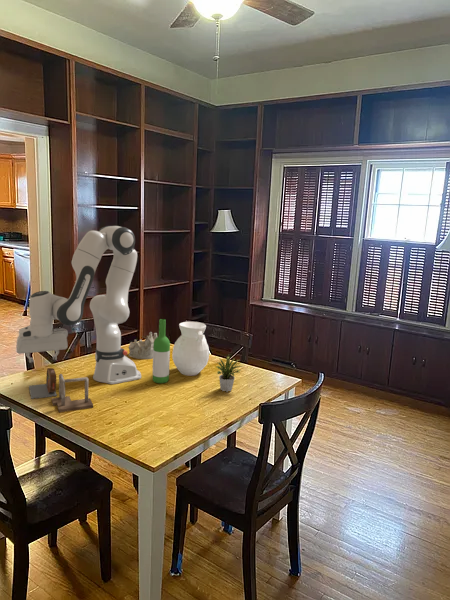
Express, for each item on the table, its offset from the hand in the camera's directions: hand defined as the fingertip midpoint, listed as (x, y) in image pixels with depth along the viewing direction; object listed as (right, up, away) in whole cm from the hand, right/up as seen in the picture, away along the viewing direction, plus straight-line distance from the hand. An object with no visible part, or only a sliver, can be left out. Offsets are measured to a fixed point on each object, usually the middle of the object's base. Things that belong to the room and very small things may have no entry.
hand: (43, 360), depth 192 cm
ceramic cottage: (+33, -5, +60) cm, 69 cm away
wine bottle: (+47, -13, +22) cm, 54 cm away
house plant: (+78, -16, +15) cm, 81 cm away
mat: (-1, -13, +2) cm, 14 cm away
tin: (+2, -13, +4) cm, 14 cm away
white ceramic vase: (+60, -11, +36) cm, 71 cm away
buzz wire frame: (+16, -17, -9) cm, 25 cm away
